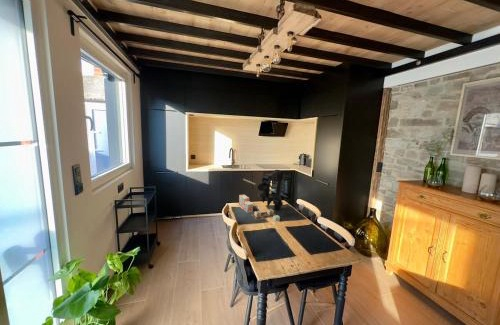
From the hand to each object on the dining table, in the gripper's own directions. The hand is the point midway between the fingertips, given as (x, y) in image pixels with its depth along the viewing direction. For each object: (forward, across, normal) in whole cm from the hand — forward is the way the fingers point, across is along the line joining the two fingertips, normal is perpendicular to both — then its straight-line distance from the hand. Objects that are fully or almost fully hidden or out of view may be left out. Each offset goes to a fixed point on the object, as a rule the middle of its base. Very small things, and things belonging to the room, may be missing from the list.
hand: (265, 204), depth 185 cm
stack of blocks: (+13, -24, -10) cm, 29 cm away
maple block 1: (+12, -2, -7) cm, 14 cm away
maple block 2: (+12, -2, +7) cm, 14 cm away
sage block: (+13, +10, +7) cm, 18 cm away
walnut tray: (+13, -2, 0) cm, 13 cm away
